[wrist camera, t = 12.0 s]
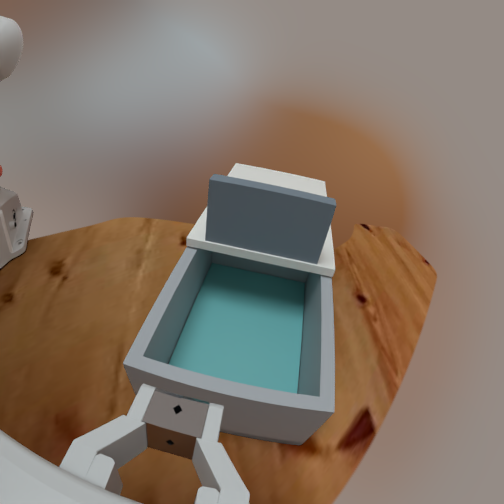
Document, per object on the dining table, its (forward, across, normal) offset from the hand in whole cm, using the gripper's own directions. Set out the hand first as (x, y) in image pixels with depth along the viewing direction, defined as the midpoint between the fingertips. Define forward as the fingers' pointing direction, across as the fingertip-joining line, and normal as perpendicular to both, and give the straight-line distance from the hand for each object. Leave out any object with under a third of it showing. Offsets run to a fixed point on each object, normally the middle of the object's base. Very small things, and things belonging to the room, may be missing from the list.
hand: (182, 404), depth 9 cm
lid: (+34, -3, 0) cm, 34 cm away
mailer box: (+21, -3, +13) cm, 25 cm away
